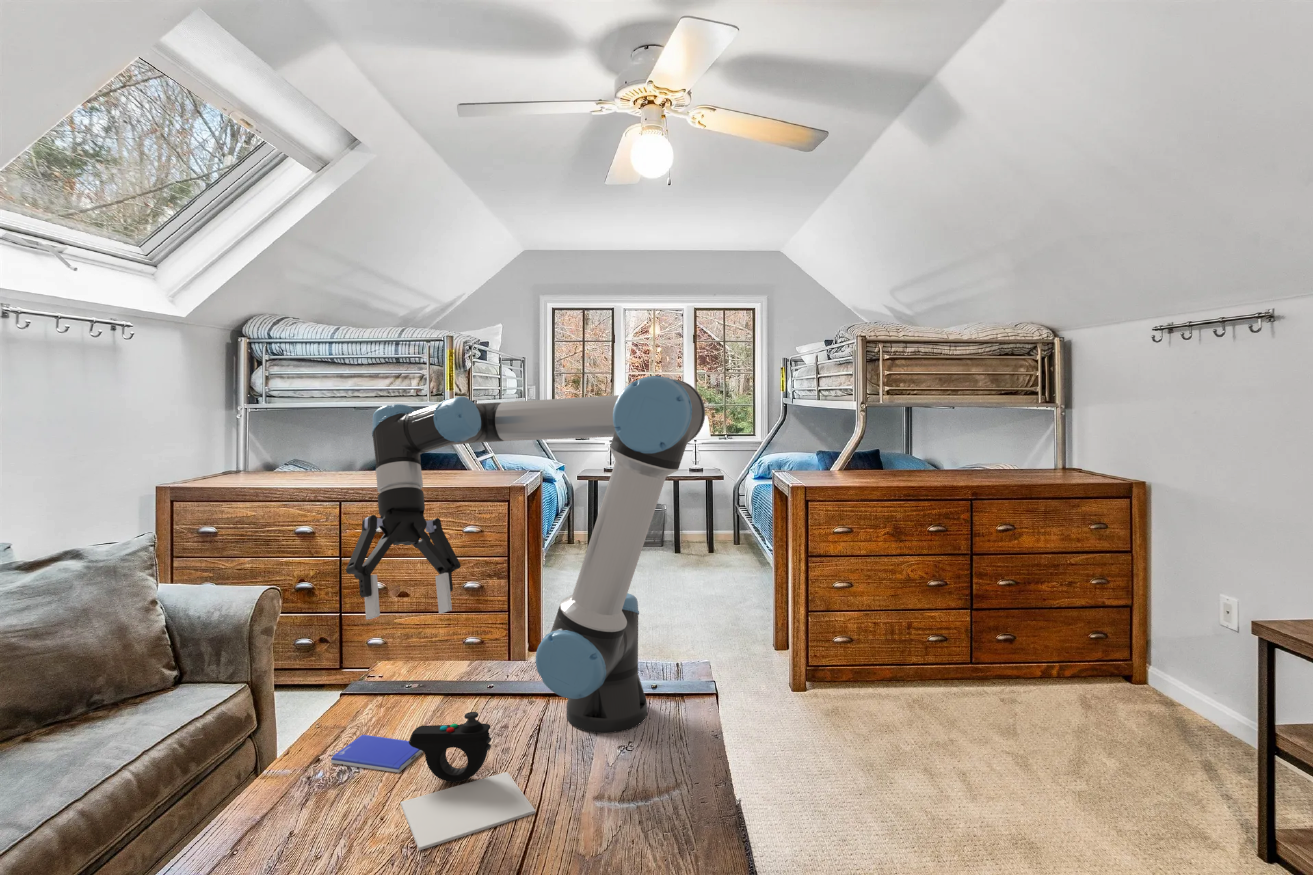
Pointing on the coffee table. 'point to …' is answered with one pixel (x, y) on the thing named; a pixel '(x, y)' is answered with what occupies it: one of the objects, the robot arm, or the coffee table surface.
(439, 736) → the controller
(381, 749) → the hard drive
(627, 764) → the coffee table surface
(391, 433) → the robot arm
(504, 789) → the grey mat
